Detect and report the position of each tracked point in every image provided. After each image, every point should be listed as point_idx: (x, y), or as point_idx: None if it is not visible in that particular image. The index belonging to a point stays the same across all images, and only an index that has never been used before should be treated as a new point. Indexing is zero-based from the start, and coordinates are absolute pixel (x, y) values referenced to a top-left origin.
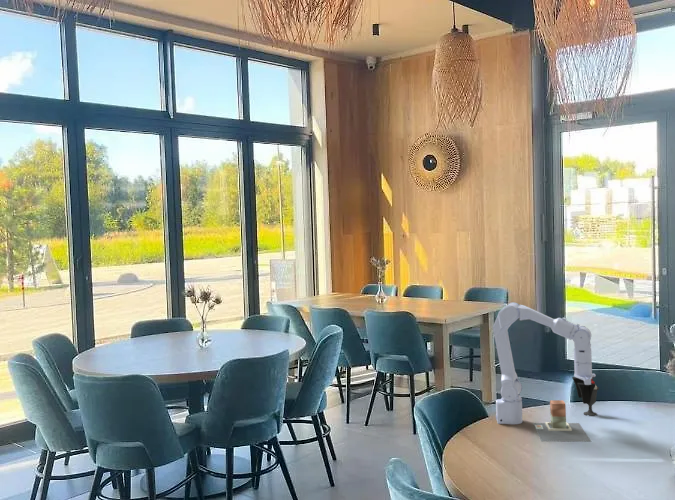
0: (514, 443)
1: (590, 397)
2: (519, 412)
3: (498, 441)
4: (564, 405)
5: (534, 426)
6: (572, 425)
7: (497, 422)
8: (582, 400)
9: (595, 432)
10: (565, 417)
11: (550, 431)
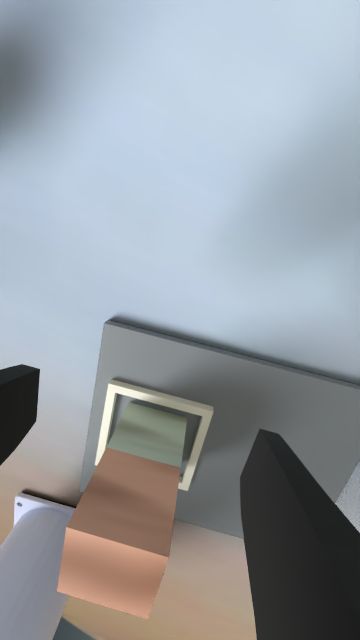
0: None
1: (324, 500)
2: (56, 584)
3: (234, 627)
4: (168, 547)
5: None
6: (136, 368)
7: None
8: (243, 511)
9: (230, 295)
10: (180, 465)
11: (200, 483)
